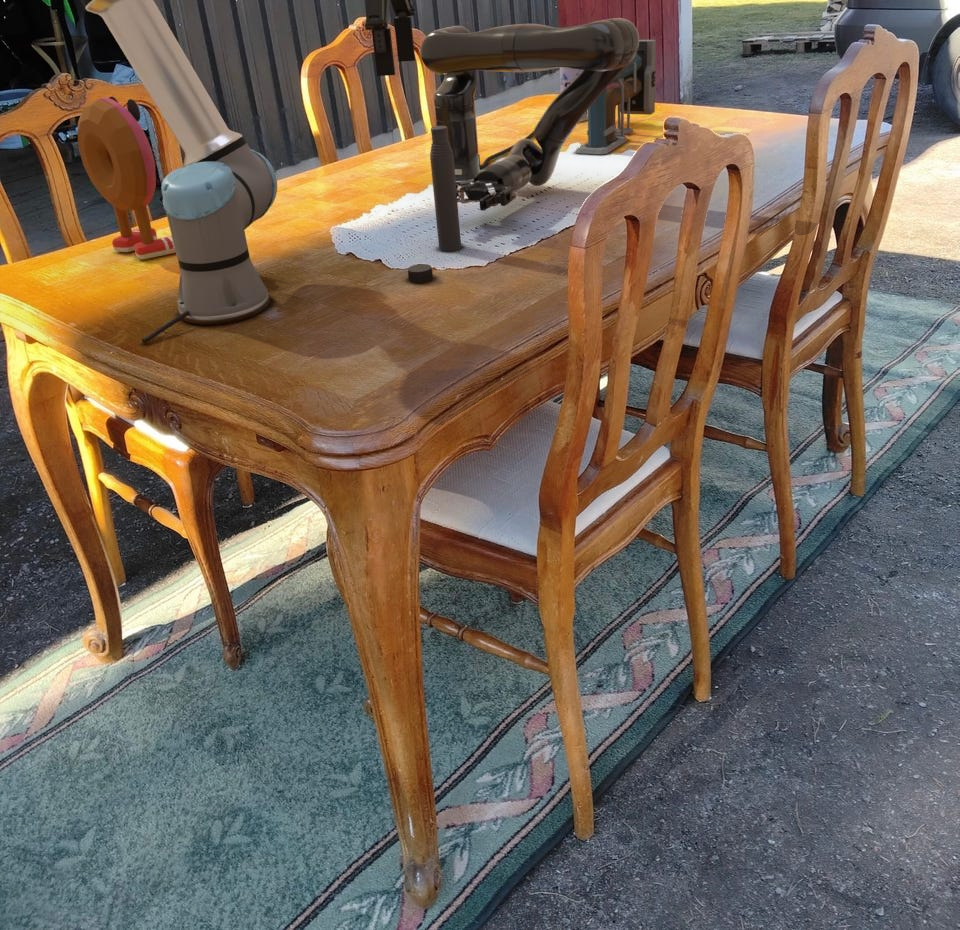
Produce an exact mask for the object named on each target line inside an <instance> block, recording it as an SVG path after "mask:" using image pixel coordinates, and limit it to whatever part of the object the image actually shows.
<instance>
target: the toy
mask: <svg viewBox="0 0 960 930" xmlns="http://www.w3.org/2000/svg"><path fill="white" fill-rule="evenodd" d="M140 119H141V111H140V107H139V105H138V103H137V102H136V101H135V100H134V99H132V98H129V99H128V100H127V102H126V107H125V106H123V105H122V104H121V103H119V101H118V100H117V99H116V97H115V96H109V97H106V96H102V97H100V98H98V99H95V100H94V101H92V102H90V103H88V104H86V105H85V106H84V107H82V109H81V113H80V116H79V119H78V122H77V147H78V151H79V155H80V158H81V162H82V165H83V167H84V170H85V172H86V174H87V176H88V178H89V180H90V182H91V184H92V185H93V186H94V187H95V189H96V190H97V191H98V193H99V194H100V195H101V196H102V197H103V198H104V199H105V200H106V201H107V203H109V204H110V205H112V207H113V211H114V214H115V218H116V222H117V225H118V226H117V227H118V230H119V233H120V236H118V237H114V239H112V241H111V243H112V248H113V251H115V252H117V253H131V252H133V251H134V253H135V256H136V258H138V259H140V260H147V259H152V258H153V259H154V258H158V257H161V256H168V255H171V254H176V251H175V247H174V243H173V239H172V235H169V236H165V237H159V238H158V234H157V231H156V229H155V228H153V227H152V225H151V221H150V217H149V213H148V209H147V206H148V205H149V204H150V203H151V201H152V199H153V197H154V195H155V192H156V186H157V176H156V175H157V174H156V162H155V157H154V154H153V150H152V147H151V145H150V142H149V140H148V137H147V135H146V133H145V131H144V129H143V127H142V126H141V124H140V123H139V121H140ZM128 211H133V212H134V216H135V219H136V223H137V228H135V229H133V228H132V226H131V221H130V217H129V212H128ZM132 229H133V230H132Z"/></svg>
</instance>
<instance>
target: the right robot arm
mask: <svg viewBox="0 0 960 930" xmlns="http://www.w3.org/2000/svg"><path fill="white" fill-rule="evenodd" d="M639 40H640V35H639V31H638V29H637V27H636V25H634V23H633V22H632V21H630V20H628V19H627V18H622V17H613V18H606V19H601V20H596V21H592V22H589V23H585V24H580V25H575V26H568V27H567V26H566V27H553V26H549V25H545V24H539V23H517V24H516V23H515V24H507V25H500V26H496V27H491V28H487V29H483V30H478V31H475V32H470V31H469V30H468V28H466V27H465V26H463V25H451V26H447V27H443V28H439V29H435V30H432V31H431V32H430V33H428V34H427V35H426V36H425V37H424V38H423V40H422V42H421V45H420V48H419V49H420V50H419V51H420V52H419V55H420V59H421V61H422V63H423V65H424V66H425V67H426V68H427V69H428V70H429V71H430V72H432V73H434V74H437V75H442V76H443V75H444V77H443V81H442V83H441V85H440V86H439V87H438V88H437V89H436V90H435V91H434V93H433V105H434V114H435V126H447V128H448V130H447V131H448V142H450V145H451V148H452V151H453V156H454V168H455V180H456V191H457V203H458V204H459V203H460V204H463V205H465V204H468V203H469V204H470V203H473V202H474V203H479V211H483V212H485V211H487V210H488V209H489V208H491V207H493V208H494V207H497V206H498V205H499V204H500V206H501V207H505V206H508V205H509V204H511V202H513V201H514V200H516V197H517V194H516V193H517V191H519V190H521V189H523V188H524V187H525V186H526V185H528V184H530V185H531V186H534V187H540V186H543V185H545V184H546V183H548V182H549V180H551V178H552V176H553V174H554V173H555V169H556V166H557V162H558V160H559V155H560V154H561V151H562V148H563V146H564V144H565V143H566V142H567V140H568V138H569V137H570V136H571V134H572V132H573V131H574V130H575V128H576V127H577V125H578V124H579V123H580V122H579V121H580V119H581V118H582V117H583V115H584V114H585V113H586V111H587V112H588V109H589V107H590V106H591V105H592V104H593V102H594V101H595V100H596V99H597V97H598V96H599V95H600V94H601V93H602V92H603V90H604V89H605V88H606V87H608V86H610V85H611V84H610V82H611V81H612V80H613V79H614V78H615V77H616V76H617V75H618V74H619V73H620V72H621V71H622V70H623V69H624V68H625V67H626V66H627V65H628V64H629V63H630V62H631V61H632V59H633V58H634V57H635V55H636V53H637V50H638V47H639ZM560 68H571V69H581V70H582V71H581V73H580V74H579V75H578V76H577V77H576V78H575V79H574V80H573V81H572V82H571V83H570V84H569V85H568V86H567V87H566V88H565V89H564V90H563V91H562V92H561V91H560V93H558V95H557V96H556V97H555V98H553V100H552V101H551V103H550V104H549V106H547V108H546V109H545V111H544V113H543V114H542V115H541V117H540V119H539V121H538V122H537V124H536V125H535V126H534V127H535V128H534V129H533V131H532V132H531V133H530V134H528V135H527V136H525V137H524V138H521V139H519V140H518V141H517V142H515V143H514V144H512V145H511V146H509V147H507V148H505V149H503V150H501V151H498V152H496V153H494V154H492V155H490V156H488V157H486V158H485V160H484V161H483V163H482V164H481V157H480V156H481V155H480V153H479V142H478V140H479V139H478V128H477V115H476V103H475V100H476V99H475V95H476V91H477V87H478V76H477V75H478V74H477V73H478V71H483V72H497V73H499V72H500V73H534V72H543V71H549V70H554V69H560ZM609 84H610V85H609ZM533 137H534V139H535V141H536V143H535V142H534V141H533V140H532V138H533ZM537 144H538V145H539V146H538V145H537ZM506 154H508V155H507V156H506V157H505V158H503V159H501V160H498V161H496V162H493V163H492V164H490V165H488V164H489V162H491V161H492V160H495V159H497V158H499V157H501V156H503V155H506ZM487 165H488V166H487ZM465 196H466V198H465Z"/></svg>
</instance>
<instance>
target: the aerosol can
mask: <svg viewBox="0 0 960 930" xmlns="http://www.w3.org/2000/svg"><path fill="white" fill-rule="evenodd" d="M581 71H582V70H581V69H571V68H559V79H560V81H559V83H560V84H559V85H560V93H561V92H562V91H563V90H564V89H565V88H566V87H567V86H568V85H569V84H570V83H571V82H572V81H573V80H574V79H575V78H576V77H577V76H578V75H579V74H580V73H581ZM584 121H588V110H587V111H586V113H585V114H584V115H583V117H582V118H581V119H580V121H579V122H578V123H580V122H584Z"/></svg>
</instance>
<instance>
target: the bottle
mask: <svg viewBox="0 0 960 930" xmlns="http://www.w3.org/2000/svg"><path fill="white" fill-rule="evenodd" d="M447 130H448V128H447V126H436V125H435V126H431V128H430V133H431V141H432V142H431V147H430V152H429V155H430V156H429V160H430V169H431V170H430V171H431V181H432V189H433V190H432V191H433V200H434V209H435V210H434V212H435V221H436V231H437V241H438V249H439V251H441V252H455V251H459V250H460V249H461V248H462V239H461V237H462V236H461V228H460V227H461V226H460V217H459V216H460V214H459V202H458V203H457V198H458V197H457V191H456V180H455V168H454V156H453V151H452V148H451V145H450V142H448V131H447Z"/></svg>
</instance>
